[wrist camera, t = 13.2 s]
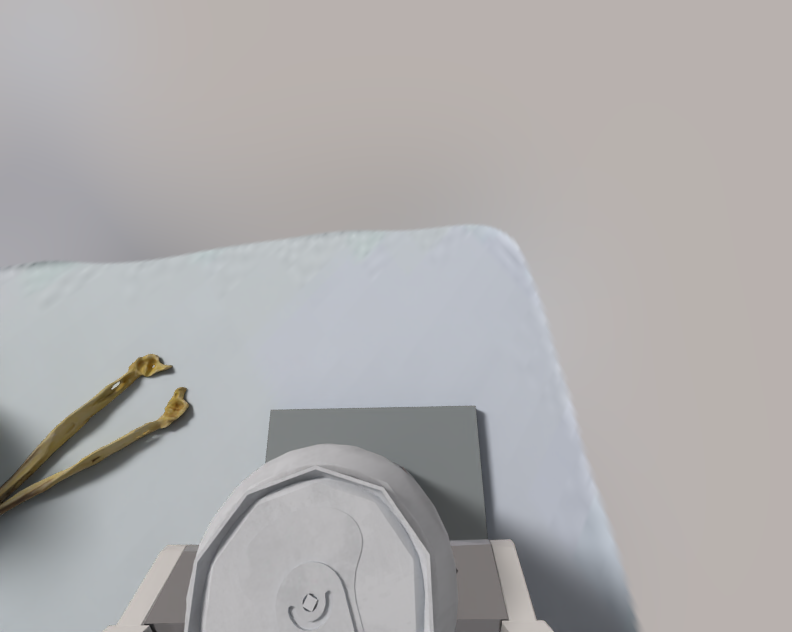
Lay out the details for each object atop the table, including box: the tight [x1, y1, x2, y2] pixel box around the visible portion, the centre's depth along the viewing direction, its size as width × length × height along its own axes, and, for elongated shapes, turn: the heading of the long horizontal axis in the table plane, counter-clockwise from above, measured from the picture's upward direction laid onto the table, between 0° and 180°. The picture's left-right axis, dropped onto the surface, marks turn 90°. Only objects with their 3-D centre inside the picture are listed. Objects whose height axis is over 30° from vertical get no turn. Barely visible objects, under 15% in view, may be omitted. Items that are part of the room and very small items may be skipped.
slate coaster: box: [265, 406, 488, 541], centre depth 17 cm, size 10×10×1 cm
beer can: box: [184, 444, 458, 632], centre depth 11 cm, size 5×5×12 cm
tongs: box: [0, 354, 189, 515], centre depth 19 cm, size 4×13×2 cm, turn 135°
